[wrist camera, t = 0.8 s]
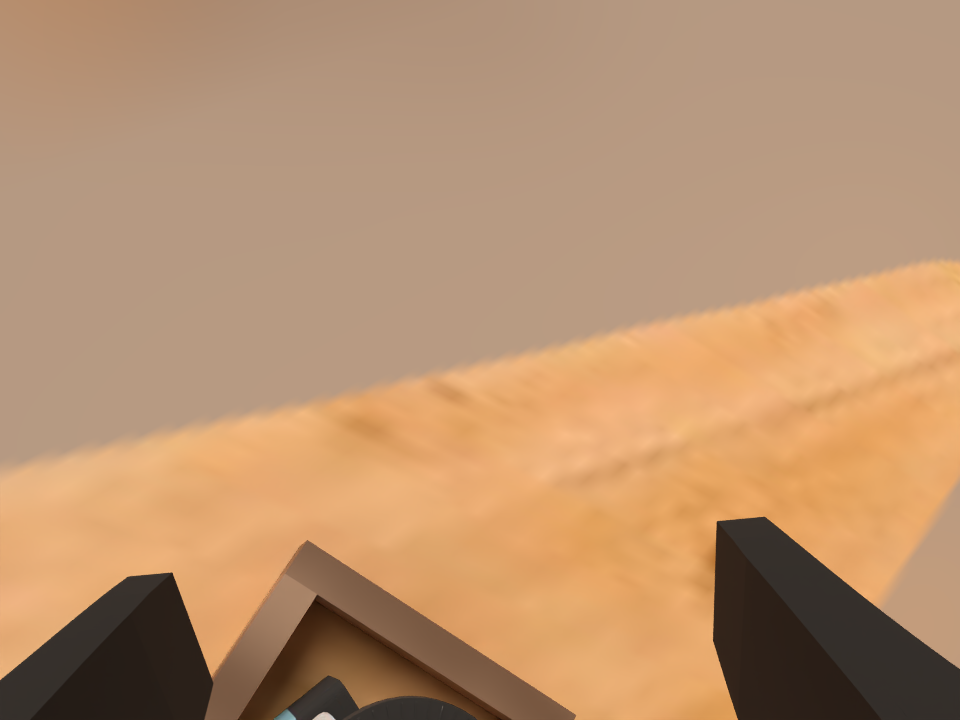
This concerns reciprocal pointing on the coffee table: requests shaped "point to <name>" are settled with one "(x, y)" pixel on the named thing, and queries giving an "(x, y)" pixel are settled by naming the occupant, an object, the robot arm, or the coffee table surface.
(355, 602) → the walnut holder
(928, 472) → the coffee table surface
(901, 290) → the coffee table surface
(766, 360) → the coffee table surface
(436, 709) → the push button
